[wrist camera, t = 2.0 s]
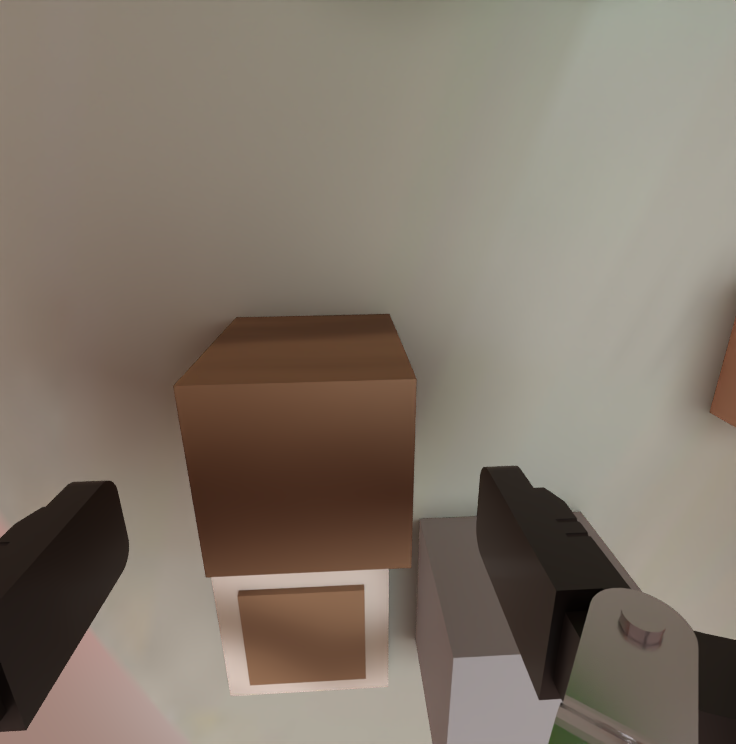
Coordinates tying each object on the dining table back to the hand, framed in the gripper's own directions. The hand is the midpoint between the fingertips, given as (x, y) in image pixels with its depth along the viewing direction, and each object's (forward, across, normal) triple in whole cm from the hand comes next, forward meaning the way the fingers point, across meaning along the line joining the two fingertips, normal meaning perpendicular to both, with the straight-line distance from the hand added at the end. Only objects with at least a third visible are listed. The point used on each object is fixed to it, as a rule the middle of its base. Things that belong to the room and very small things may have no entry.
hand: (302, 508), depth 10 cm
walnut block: (+6, 0, 0) cm, 6 cm away
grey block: (+6, -7, +8) cm, 13 cm away
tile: (+6, +1, +10) cm, 12 cm away
